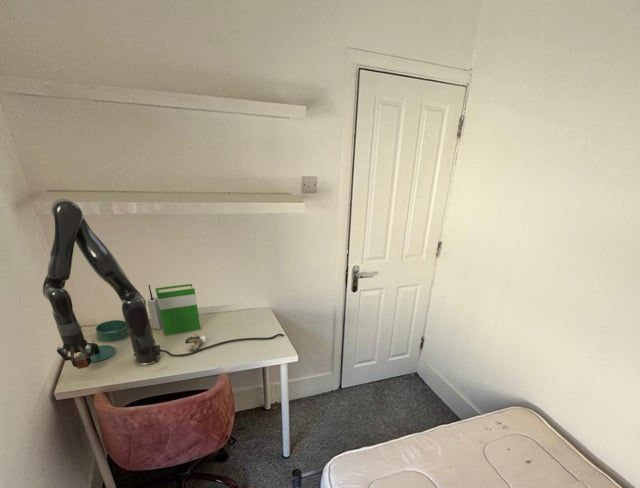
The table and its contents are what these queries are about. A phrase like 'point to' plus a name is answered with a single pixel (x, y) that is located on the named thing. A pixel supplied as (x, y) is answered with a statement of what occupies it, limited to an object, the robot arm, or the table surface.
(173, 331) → the hardback book
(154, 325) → the vintage mobile phone
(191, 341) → the eagle figurine
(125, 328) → the tin
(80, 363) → the block
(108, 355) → the lid
